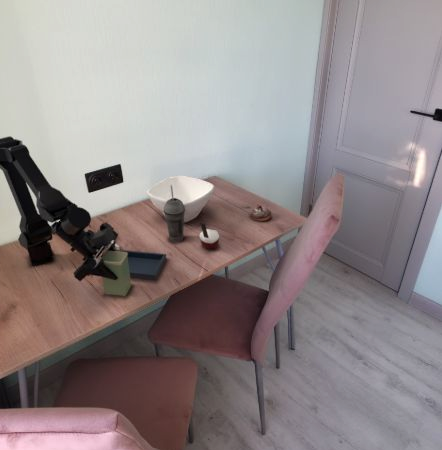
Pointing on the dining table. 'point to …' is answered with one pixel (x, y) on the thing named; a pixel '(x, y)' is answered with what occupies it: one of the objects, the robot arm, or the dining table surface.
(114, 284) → the tea tin
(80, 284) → the dining table surface
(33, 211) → the robot arm
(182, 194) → the bowl
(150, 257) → the tray
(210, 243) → the cocoa
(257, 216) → the pastry
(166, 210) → the beverage cup
